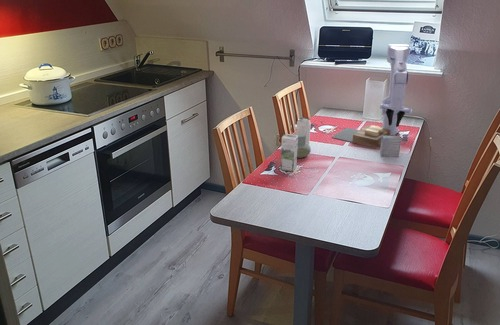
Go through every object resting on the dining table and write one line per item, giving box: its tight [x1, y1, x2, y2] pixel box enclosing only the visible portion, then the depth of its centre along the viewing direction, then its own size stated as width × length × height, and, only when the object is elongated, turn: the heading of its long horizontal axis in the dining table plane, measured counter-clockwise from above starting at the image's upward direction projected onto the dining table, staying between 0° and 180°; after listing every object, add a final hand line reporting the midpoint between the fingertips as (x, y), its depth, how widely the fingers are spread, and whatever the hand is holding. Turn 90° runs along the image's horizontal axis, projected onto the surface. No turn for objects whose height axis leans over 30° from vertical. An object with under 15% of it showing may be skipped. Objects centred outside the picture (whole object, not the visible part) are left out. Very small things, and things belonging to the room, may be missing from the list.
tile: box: [365, 124, 384, 136], centre depth 222 cm, size 9×6×2 cm, turn 145°
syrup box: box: [280, 133, 298, 172], centre depth 189 cm, size 6×6×14 cm
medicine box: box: [379, 135, 402, 158], centre depth 205 cm, size 8×4×9 cm, turn 84°
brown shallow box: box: [351, 124, 391, 149], centre depth 223 cm, size 18×12×4 cm, turn 145°
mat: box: [331, 127, 361, 143], centre depth 230 cm, size 18×11×1 cm, turn 145°
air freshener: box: [292, 132, 312, 159], centre depth 203 cm, size 11×8×10 cm
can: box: [295, 117, 312, 145], centre depth 217 cm, size 6×6×12 cm
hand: (393, 125), depth 215 cm, fingers open, 3 cm apart
